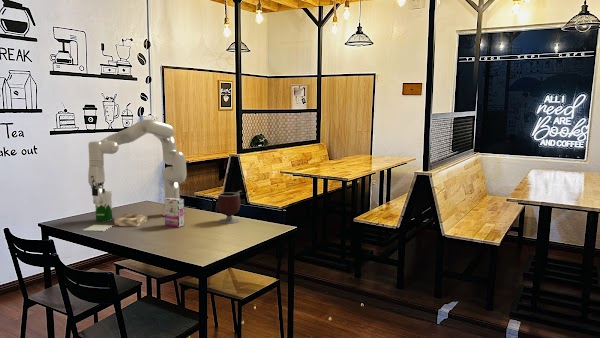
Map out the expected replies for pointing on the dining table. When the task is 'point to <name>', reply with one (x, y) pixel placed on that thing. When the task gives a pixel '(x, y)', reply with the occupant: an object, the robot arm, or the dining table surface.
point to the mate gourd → (229, 206)
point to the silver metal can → (98, 198)
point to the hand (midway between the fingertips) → (97, 194)
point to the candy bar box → (174, 212)
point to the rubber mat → (98, 228)
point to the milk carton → (104, 207)
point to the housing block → (130, 220)
